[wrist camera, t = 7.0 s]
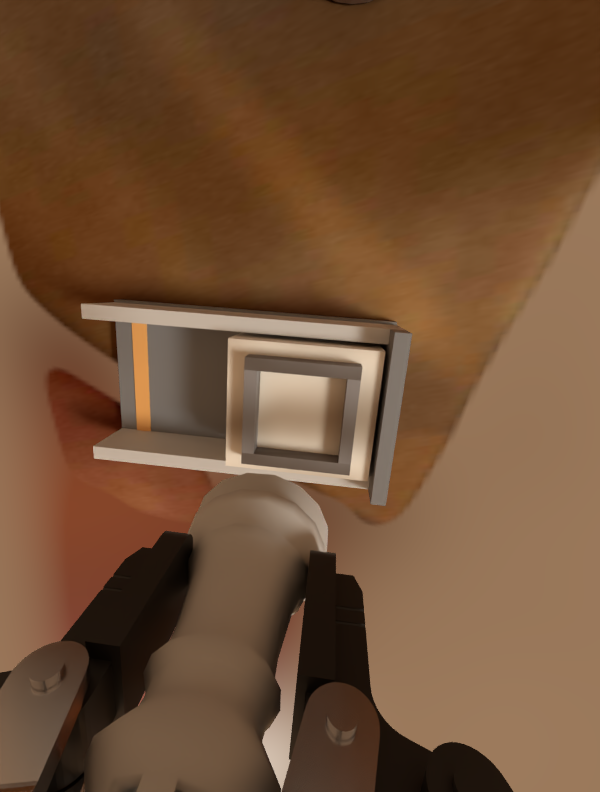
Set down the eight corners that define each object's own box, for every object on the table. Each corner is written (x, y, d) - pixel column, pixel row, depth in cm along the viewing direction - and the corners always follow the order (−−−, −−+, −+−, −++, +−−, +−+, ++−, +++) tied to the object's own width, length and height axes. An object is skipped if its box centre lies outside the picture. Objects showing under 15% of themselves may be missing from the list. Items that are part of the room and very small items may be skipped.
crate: (246, 330, 29) (222, 340, 23) (377, 341, 28) (387, 354, 22) (242, 438, 31) (220, 473, 25) (362, 451, 30) (369, 490, 24)
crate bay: (121, 299, 30) (59, 301, 24) (394, 321, 29) (412, 330, 22) (129, 436, 34) (76, 472, 27) (374, 463, 32) (385, 508, 25)
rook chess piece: (191, 561, 13) (-3, 920, 6) (210, 450, 12) (-5, 721, 4) (311, 593, 13) (277, 1004, 6) (344, 484, 12) (356, 823, 4)
